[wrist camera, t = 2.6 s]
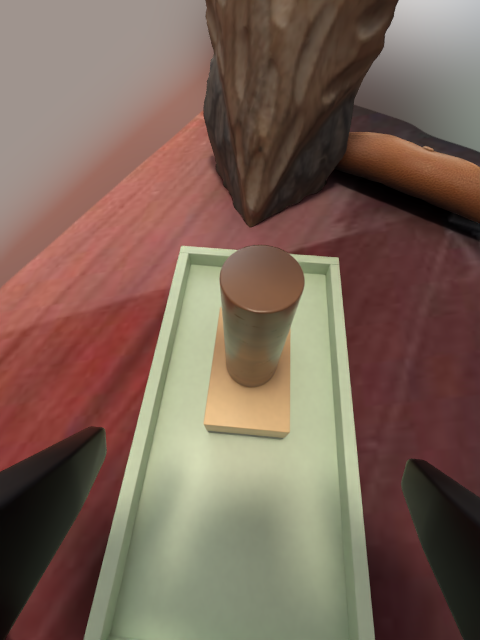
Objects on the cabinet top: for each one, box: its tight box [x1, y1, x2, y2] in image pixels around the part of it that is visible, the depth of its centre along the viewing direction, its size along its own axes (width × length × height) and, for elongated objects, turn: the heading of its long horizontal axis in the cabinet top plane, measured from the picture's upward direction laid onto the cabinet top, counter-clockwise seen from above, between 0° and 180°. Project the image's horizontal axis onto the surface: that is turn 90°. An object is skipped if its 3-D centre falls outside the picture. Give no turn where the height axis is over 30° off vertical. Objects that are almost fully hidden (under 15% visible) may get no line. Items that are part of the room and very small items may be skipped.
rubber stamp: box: [203, 245, 305, 439], centre depth 16 cm, size 8×5×12 cm, turn 175°
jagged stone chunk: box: [203, 0, 398, 227], centre depth 25 cm, size 13×13×20 cm
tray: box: [84, 246, 375, 640], centre depth 20 cm, size 26×14×2 cm, turn 175°
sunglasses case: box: [335, 132, 480, 224], centre depth 31 cm, size 18×7×7 cm, turn 57°
